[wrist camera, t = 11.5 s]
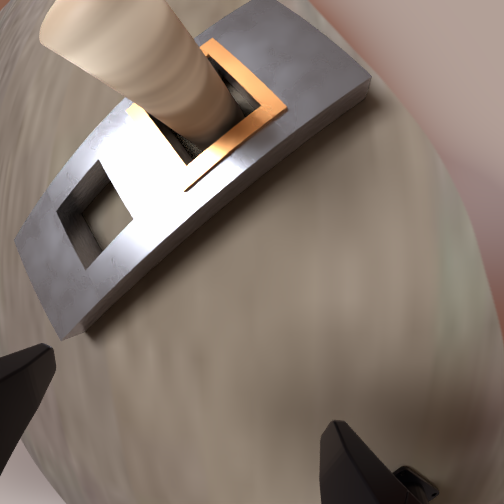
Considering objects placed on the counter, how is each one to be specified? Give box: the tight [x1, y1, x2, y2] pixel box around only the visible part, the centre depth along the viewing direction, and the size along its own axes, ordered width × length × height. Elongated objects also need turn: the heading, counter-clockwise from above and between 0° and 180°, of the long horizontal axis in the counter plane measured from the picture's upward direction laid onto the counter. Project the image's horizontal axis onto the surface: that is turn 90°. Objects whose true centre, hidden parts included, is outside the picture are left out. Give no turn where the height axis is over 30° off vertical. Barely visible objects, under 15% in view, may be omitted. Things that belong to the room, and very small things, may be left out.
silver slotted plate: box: [14, 0, 372, 341], centre depth 19 cm, size 28×10×3 cm, turn 128°
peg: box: [39, 0, 244, 151], centre depth 13 cm, size 4×4×14 cm
